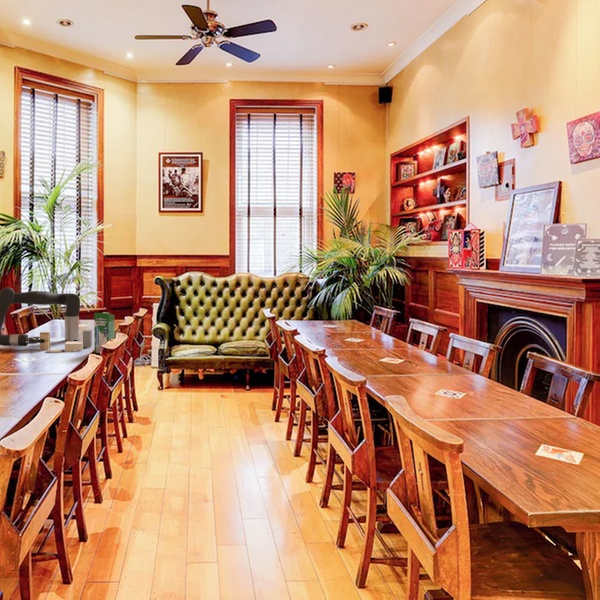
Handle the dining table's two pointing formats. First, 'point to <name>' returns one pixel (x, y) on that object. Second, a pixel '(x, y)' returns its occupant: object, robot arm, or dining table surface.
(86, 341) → the slate block
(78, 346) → the base block
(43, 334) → the maple block
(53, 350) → the tile
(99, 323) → the milk carton
